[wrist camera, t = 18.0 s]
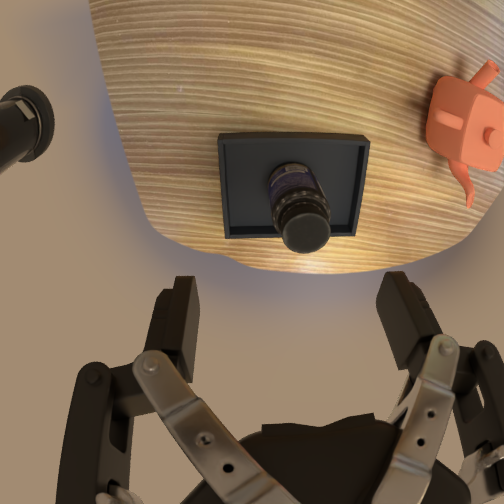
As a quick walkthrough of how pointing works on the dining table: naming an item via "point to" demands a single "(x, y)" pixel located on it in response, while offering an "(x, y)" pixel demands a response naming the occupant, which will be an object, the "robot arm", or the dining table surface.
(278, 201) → the pill bottle
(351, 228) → the tray
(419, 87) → the dining table surface
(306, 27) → the dining table surface
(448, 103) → the teapot
